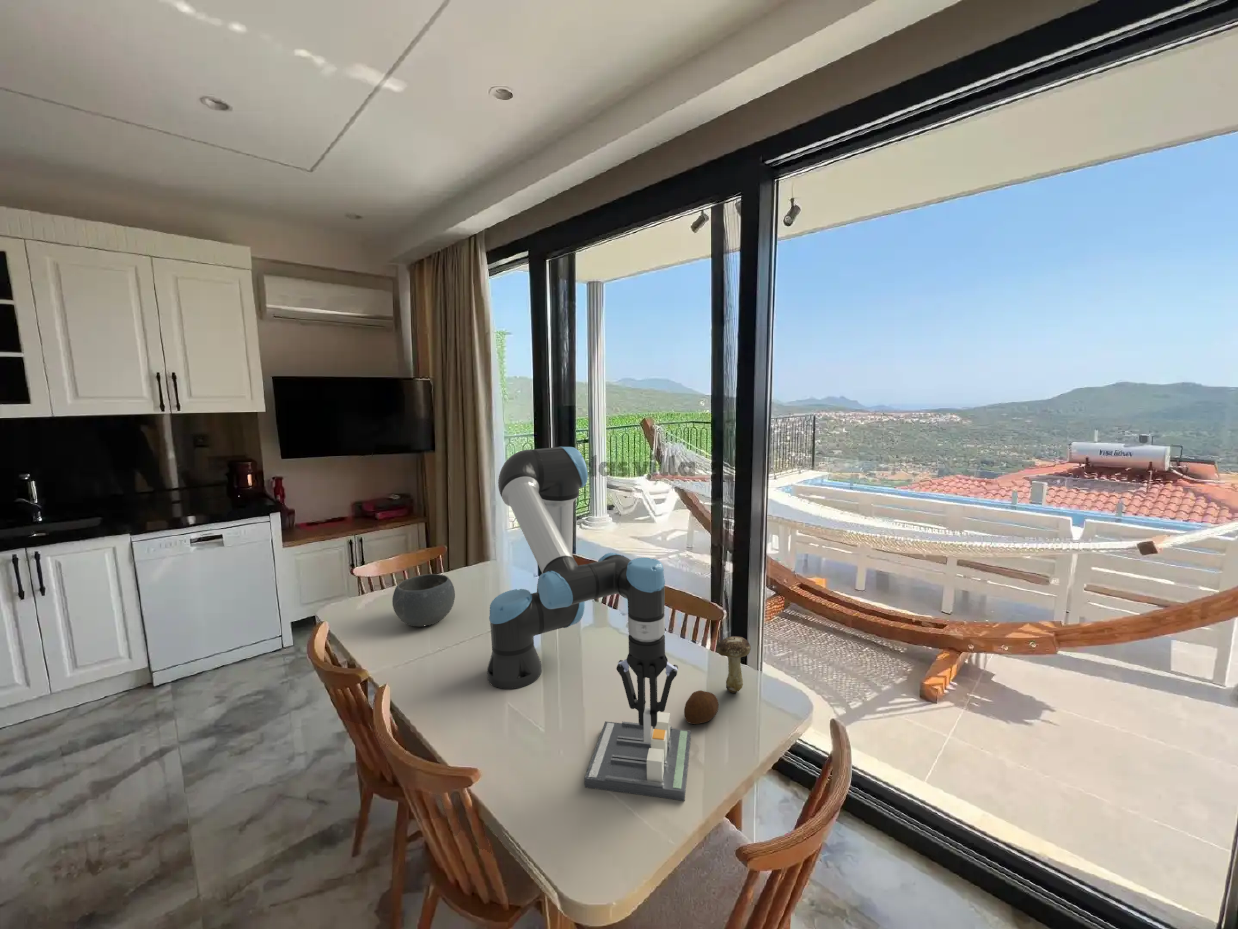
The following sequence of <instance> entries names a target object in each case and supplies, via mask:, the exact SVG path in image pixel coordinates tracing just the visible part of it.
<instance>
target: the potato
mask: <svg viewBox="0 0 1238 929" xmlns="http://www.w3.org/2000/svg"><path fill="white" fill-rule="evenodd" d="M718 711H719V700H718V698H717V696H716V695H715V694H714V693H713V692H709V691H705V690H704V691H703V690H697V691H694V692H693V693H691V695H690V696H689V697H688V698H687V700H686V703H685V704H684V710H683V716H684V719H685V722H687V723H688V724H692V725H699V724H703V723H708V722H710V720H712V719H713V718H714V717H715V716H716V715H717V714H718Z"/></svg>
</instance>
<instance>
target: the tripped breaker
mask: <svg viewBox="0 0 1238 929" xmlns="http://www.w3.org/2000/svg"><path fill="white" fill-rule="evenodd" d="M651 748H654V749H663V750H664V761H666V755H667V730H661V729H653V732H652V736H651Z"/></svg>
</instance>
